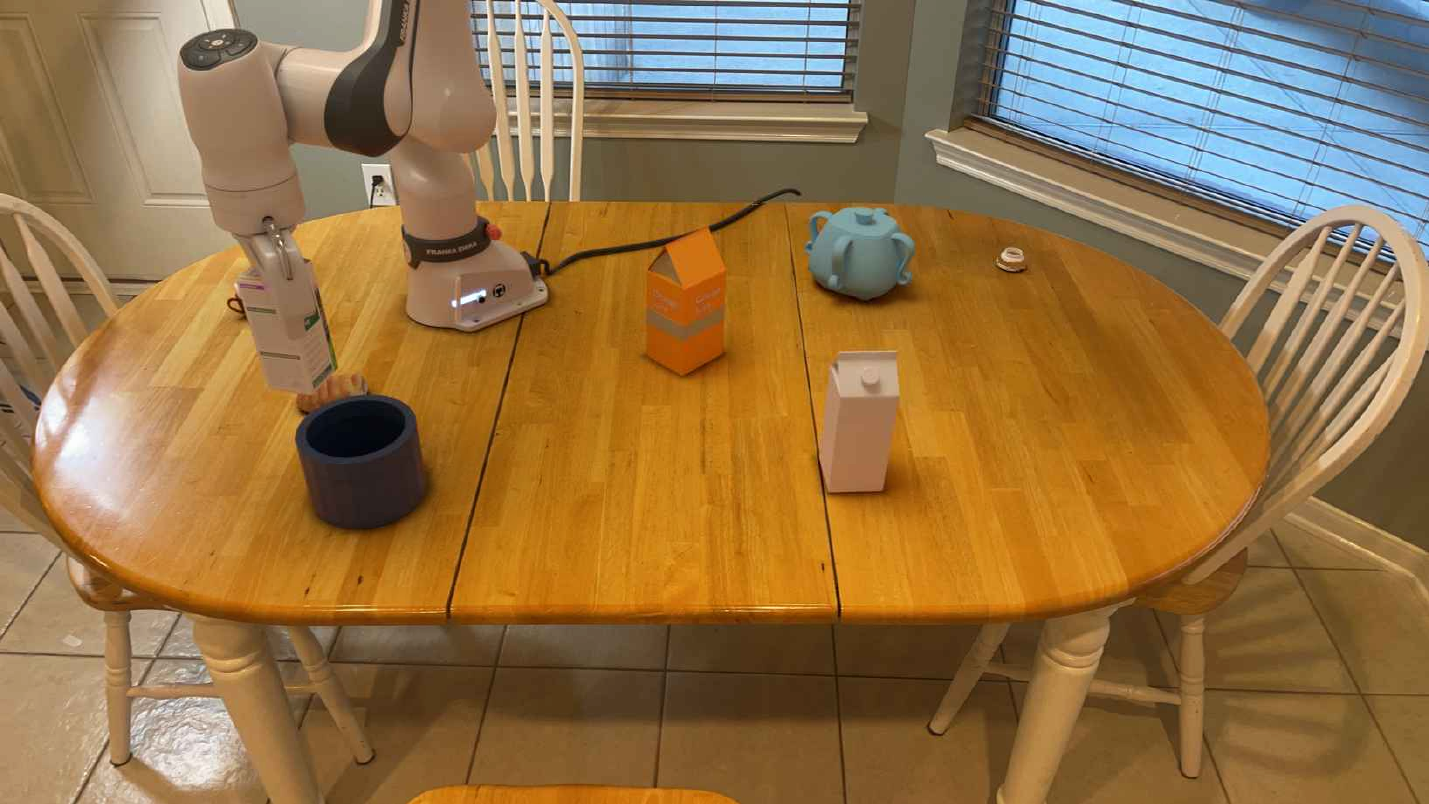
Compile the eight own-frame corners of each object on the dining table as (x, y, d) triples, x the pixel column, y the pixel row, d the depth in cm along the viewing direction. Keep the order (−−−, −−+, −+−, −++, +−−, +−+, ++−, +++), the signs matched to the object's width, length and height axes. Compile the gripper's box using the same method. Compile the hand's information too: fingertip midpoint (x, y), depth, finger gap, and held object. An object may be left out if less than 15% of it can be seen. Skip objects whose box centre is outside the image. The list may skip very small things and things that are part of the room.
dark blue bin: (405, 445, 134) (394, 383, 128) (442, 504, 124) (432, 440, 119) (299, 479, 127) (282, 414, 122) (329, 544, 118) (313, 478, 112)
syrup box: (314, 396, 114) (285, 283, 105) (265, 389, 115) (233, 276, 106) (339, 369, 118) (314, 258, 110) (292, 362, 119) (264, 251, 111)
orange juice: (723, 354, 154) (728, 234, 143) (682, 376, 149) (684, 254, 137) (686, 334, 158) (689, 216, 147) (645, 355, 153) (644, 235, 141)
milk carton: (818, 458, 134) (833, 336, 123) (871, 457, 135) (890, 335, 124) (827, 493, 129) (844, 368, 118) (882, 492, 129) (904, 367, 118)
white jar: (1023, 261, 182) (994, 258, 183) (1026, 246, 181) (998, 243, 181) (1026, 274, 178) (997, 271, 179) (1029, 259, 177) (1000, 256, 177)
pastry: (297, 422, 137) (291, 399, 135) (298, 395, 142) (292, 372, 140) (370, 411, 139) (365, 388, 137) (367, 385, 145) (363, 362, 142)
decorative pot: (890, 260, 181) (901, 189, 173) (913, 306, 168) (926, 230, 160) (800, 262, 180) (807, 190, 172) (816, 307, 166) (824, 232, 159)
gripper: (316, 234, 98) (342, 354, 106) (266, 160, 112) (292, 271, 120) (247, 248, 95) (279, 371, 103) (204, 171, 109) (236, 284, 117)
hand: (286, 317), depth 112 cm, fingers closed on syrup box, 7 cm apart
